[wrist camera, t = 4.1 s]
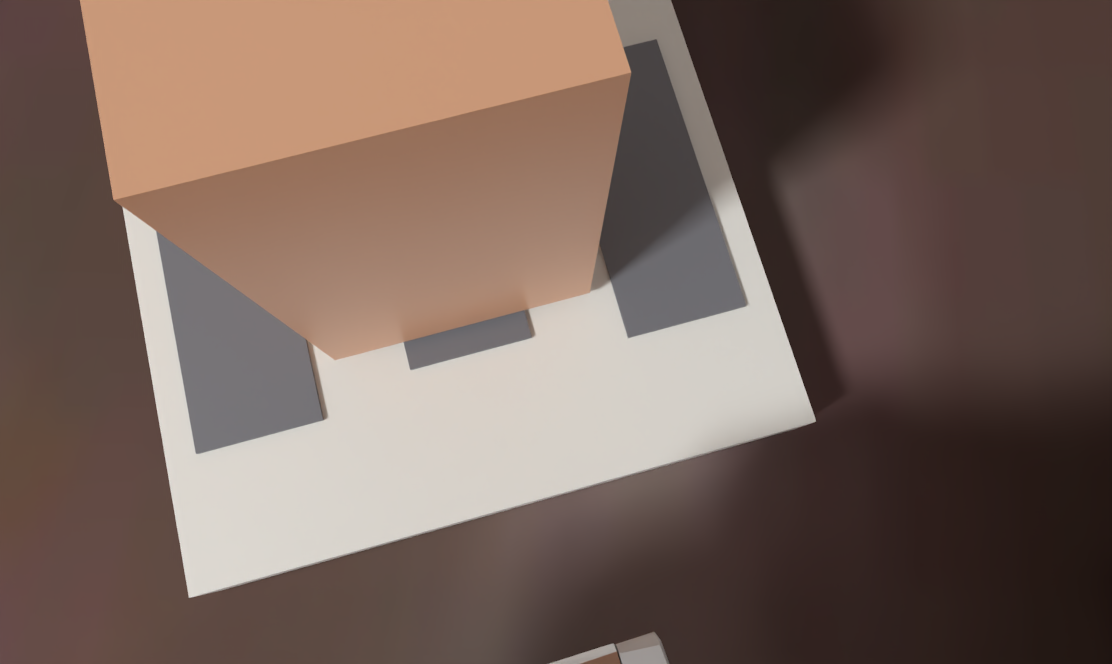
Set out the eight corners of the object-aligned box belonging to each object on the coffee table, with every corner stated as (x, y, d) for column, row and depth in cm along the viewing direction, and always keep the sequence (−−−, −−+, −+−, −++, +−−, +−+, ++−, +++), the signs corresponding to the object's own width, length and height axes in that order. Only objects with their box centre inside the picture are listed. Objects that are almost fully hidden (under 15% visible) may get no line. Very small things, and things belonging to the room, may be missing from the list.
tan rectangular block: (535, 109, 16) (524, -255, 9) (590, 293, 16) (630, 72, 8) (292, 169, 16) (53, -153, 8) (335, 360, 15) (113, 200, 8)
